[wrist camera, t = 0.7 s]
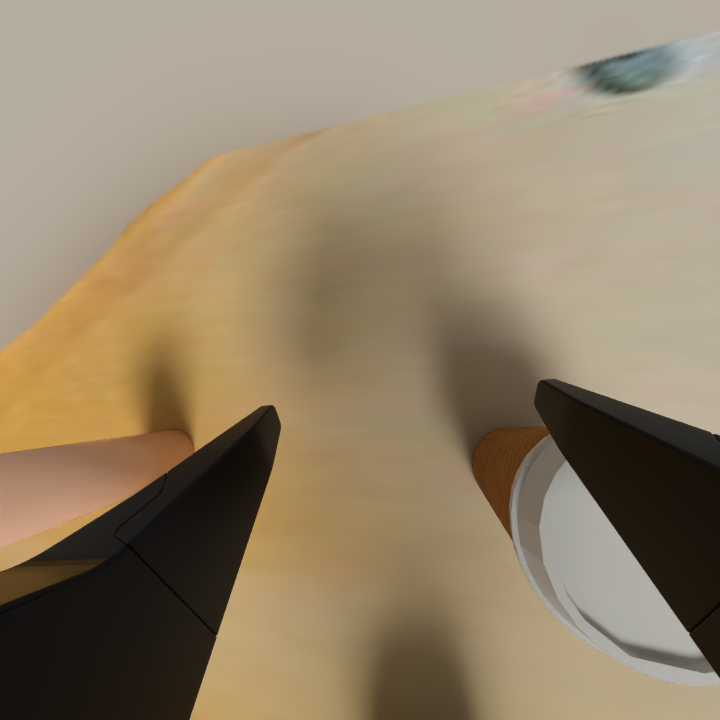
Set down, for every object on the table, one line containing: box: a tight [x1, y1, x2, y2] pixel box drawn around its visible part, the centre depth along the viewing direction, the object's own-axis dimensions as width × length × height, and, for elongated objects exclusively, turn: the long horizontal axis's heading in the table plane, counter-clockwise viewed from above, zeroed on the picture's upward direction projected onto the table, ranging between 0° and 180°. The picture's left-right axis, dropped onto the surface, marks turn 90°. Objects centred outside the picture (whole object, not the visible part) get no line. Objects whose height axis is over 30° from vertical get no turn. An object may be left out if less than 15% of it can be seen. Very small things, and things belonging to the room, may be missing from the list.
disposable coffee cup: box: [472, 427, 720, 686], centre depth 15 cm, size 10×10×12 cm
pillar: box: [0, 430, 194, 548], centre depth 18 cm, size 5×5×13 cm
